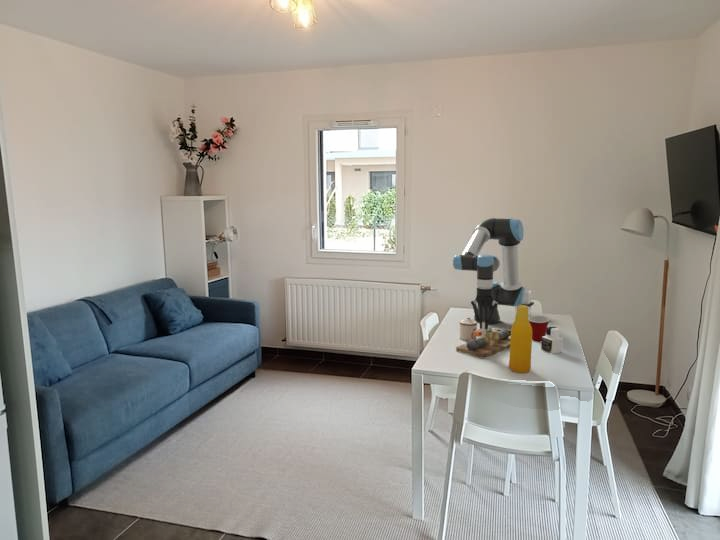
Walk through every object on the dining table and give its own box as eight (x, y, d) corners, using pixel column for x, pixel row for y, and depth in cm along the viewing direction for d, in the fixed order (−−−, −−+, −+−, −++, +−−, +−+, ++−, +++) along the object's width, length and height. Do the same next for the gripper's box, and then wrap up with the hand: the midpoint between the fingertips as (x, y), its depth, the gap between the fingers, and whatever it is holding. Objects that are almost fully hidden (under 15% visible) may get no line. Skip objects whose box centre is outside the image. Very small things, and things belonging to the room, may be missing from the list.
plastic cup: (523, 340, 288) (524, 318, 286) (532, 336, 296) (533, 314, 294) (543, 344, 281) (544, 321, 279) (552, 340, 289) (553, 317, 287)
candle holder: (548, 315, 342) (550, 289, 340) (537, 323, 322) (539, 296, 320) (509, 309, 356) (510, 284, 353) (496, 317, 336) (497, 291, 333)
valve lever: (487, 329, 277) (487, 325, 277) (493, 330, 275) (493, 327, 275) (473, 335, 267) (473, 331, 267) (478, 336, 265) (478, 332, 265)
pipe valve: (492, 337, 293) (493, 321, 292) (519, 344, 282) (520, 327, 280) (456, 350, 271) (456, 333, 270) (483, 358, 260) (484, 339, 258)
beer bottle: (529, 367, 248) (532, 304, 243) (531, 374, 239) (534, 309, 234) (508, 365, 250) (511, 303, 245) (509, 372, 241) (512, 308, 236)
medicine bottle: (540, 350, 272) (542, 326, 270) (552, 348, 275) (553, 325, 273) (551, 354, 266) (552, 330, 264) (562, 352, 268) (564, 328, 266)
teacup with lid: (474, 341, 286) (475, 320, 284) (457, 339, 290) (458, 318, 288) (479, 335, 297) (480, 314, 295) (462, 333, 301) (463, 313, 299)
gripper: (499, 286, 263) (498, 334, 267) (473, 285, 269) (472, 332, 272) (497, 289, 257) (495, 338, 260) (469, 288, 262) (468, 336, 266)
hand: (483, 335), depth 266 cm, fingers closed
